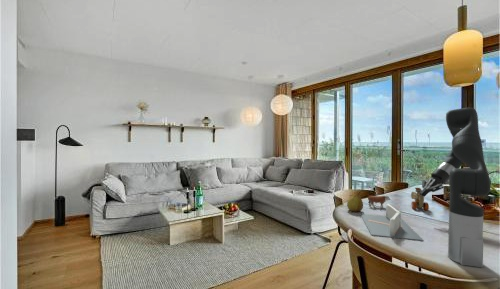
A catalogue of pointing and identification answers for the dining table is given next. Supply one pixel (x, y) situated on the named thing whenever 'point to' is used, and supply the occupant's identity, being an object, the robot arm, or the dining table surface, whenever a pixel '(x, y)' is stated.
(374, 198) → the bull figurine
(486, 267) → the dining table surface
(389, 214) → the fence gate
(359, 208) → the fruit
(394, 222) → the fence fixed
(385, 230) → the card
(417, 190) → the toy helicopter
